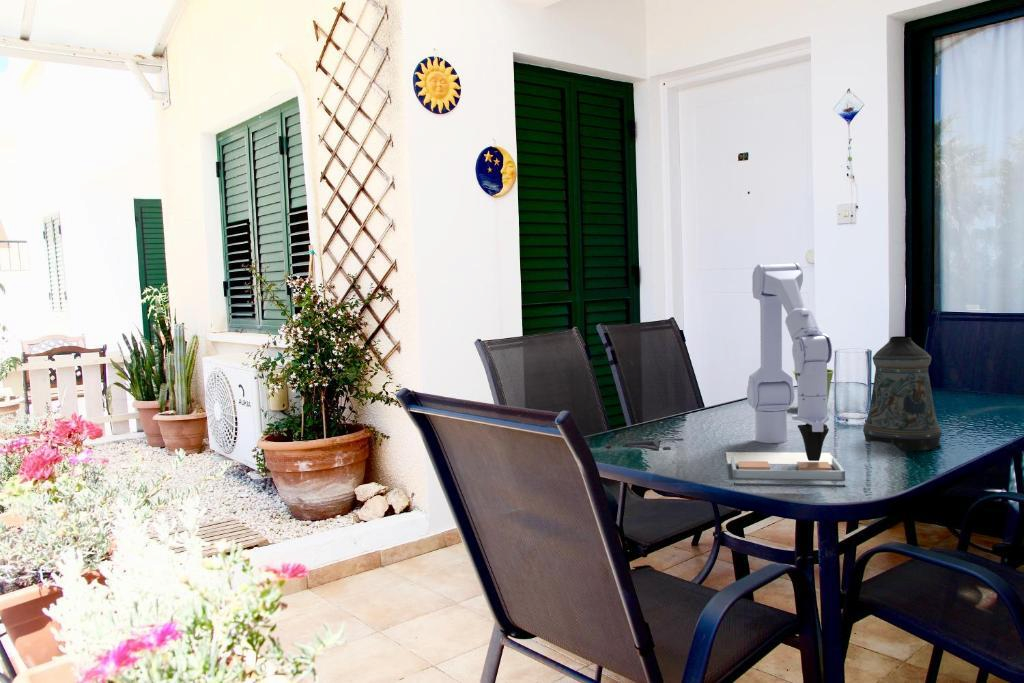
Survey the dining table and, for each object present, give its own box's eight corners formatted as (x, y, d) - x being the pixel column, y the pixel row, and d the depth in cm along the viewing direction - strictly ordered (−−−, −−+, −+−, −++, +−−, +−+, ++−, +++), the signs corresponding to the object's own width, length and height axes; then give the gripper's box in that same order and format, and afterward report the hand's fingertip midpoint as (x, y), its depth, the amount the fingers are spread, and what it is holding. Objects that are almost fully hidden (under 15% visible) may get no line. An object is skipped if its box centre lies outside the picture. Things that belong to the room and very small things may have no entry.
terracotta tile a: (738, 470, 168) (737, 461, 167) (767, 470, 166) (767, 461, 166) (739, 476, 163) (739, 466, 163) (770, 476, 161) (769, 467, 161)
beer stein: (894, 453, 178) (893, 341, 176) (841, 437, 197) (840, 336, 195) (958, 447, 181) (958, 337, 180) (900, 432, 200) (899, 332, 199)
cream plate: (725, 458, 180) (725, 452, 180) (829, 459, 175) (829, 452, 175) (727, 470, 169) (727, 463, 169) (838, 471, 164) (838, 464, 164)
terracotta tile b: (796, 471, 165) (796, 461, 165) (827, 471, 163) (827, 462, 163) (800, 477, 160) (799, 467, 160) (831, 477, 159) (831, 467, 158)
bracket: (638, 461, 184) (637, 449, 184) (625, 447, 199) (624, 436, 199) (699, 458, 185) (699, 446, 185) (681, 444, 200) (681, 433, 200)
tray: (731, 470, 169) (730, 456, 169) (834, 471, 164) (834, 457, 164) (733, 485, 157) (733, 470, 157) (845, 486, 153) (845, 471, 152)
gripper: (787, 389, 171) (788, 452, 172) (795, 400, 157) (797, 468, 158) (822, 389, 169) (823, 452, 170) (834, 399, 155) (835, 468, 156)
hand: (813, 460), depth 164 cm, fingers closed
